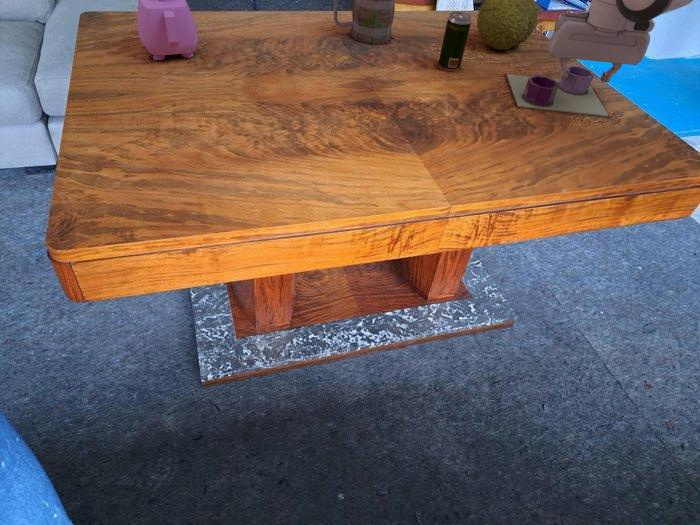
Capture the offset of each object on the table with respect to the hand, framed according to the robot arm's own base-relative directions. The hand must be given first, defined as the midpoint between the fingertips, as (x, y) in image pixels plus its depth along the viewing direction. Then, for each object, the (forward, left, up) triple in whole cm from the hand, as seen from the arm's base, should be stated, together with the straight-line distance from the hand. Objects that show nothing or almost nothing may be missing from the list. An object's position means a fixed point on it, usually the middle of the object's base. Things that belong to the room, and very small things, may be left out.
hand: (583, 78), depth 116 cm
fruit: (+15, -25, -4) cm, 30 cm away
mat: (+6, +2, -4) cm, 7 cm away
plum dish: (+11, +6, -3) cm, 13 cm away
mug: (+52, -21, -4) cm, 56 cm away
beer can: (+30, -7, -4) cm, 31 cm away
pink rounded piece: (+95, +1, -4) cm, 95 cm away
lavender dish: (+1, -2, -3) cm, 4 cm away
